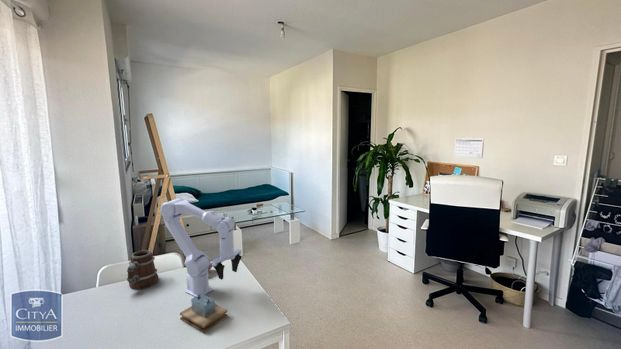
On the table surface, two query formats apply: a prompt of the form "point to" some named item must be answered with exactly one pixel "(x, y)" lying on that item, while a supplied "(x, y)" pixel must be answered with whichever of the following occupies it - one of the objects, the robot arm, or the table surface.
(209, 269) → the video game controller
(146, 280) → the brown wooden bucket
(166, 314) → the table surface
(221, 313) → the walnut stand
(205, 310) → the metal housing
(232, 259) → the robot arm
